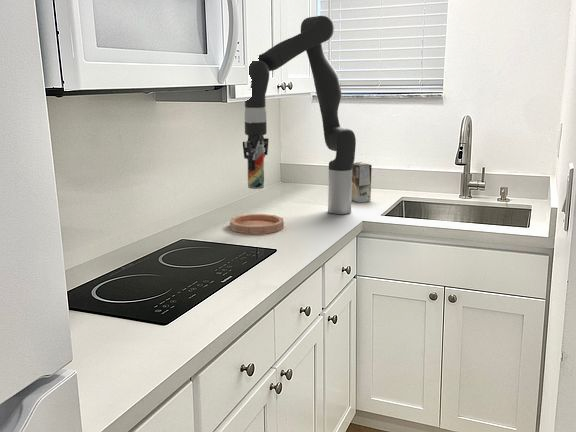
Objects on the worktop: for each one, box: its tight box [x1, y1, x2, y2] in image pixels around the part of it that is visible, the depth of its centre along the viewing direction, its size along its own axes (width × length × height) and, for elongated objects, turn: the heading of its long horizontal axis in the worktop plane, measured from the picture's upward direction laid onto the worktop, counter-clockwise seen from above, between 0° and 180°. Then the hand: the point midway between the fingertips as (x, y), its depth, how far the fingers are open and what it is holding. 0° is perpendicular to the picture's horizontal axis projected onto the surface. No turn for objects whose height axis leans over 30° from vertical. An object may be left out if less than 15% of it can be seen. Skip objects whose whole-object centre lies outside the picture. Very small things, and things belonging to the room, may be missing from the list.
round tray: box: [229, 213, 285, 235], centre depth 206 cm, size 19×19×3 cm
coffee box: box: [351, 162, 373, 203], centre depth 250 cm, size 9×6×16 cm
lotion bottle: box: [247, 135, 265, 190], centre depth 201 cm, size 6×6×20 cm
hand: (256, 169), depth 202 cm, fingers closed on lotion bottle, 5 cm apart
